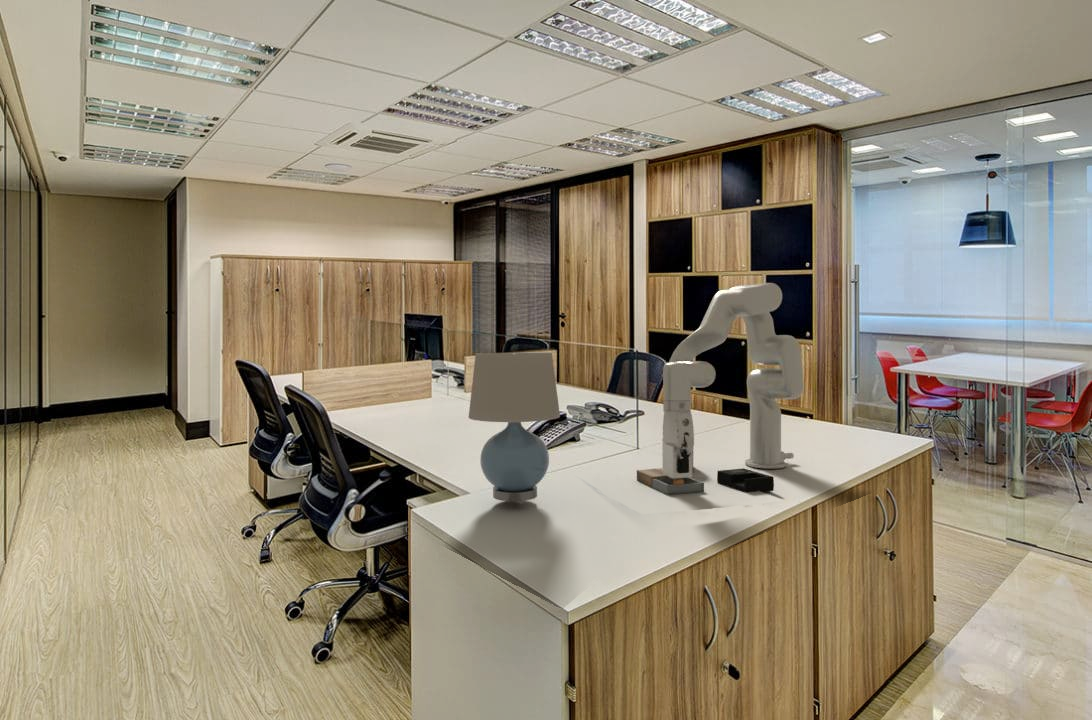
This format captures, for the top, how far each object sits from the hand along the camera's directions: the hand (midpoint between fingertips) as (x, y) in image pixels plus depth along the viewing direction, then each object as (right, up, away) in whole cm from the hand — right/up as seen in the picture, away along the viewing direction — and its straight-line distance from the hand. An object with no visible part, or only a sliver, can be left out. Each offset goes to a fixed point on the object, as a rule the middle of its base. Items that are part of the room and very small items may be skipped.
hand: (677, 469), depth 172 cm
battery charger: (+20, -6, +4) cm, 21 cm away
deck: (-3, -5, +9) cm, 11 cm away
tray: (0, -5, 0) cm, 5 cm away
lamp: (-45, -6, -6) cm, 46 cm away
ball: (0, -3, -1) cm, 4 cm away
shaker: (0, -2, 0) cm, 2 cm away
